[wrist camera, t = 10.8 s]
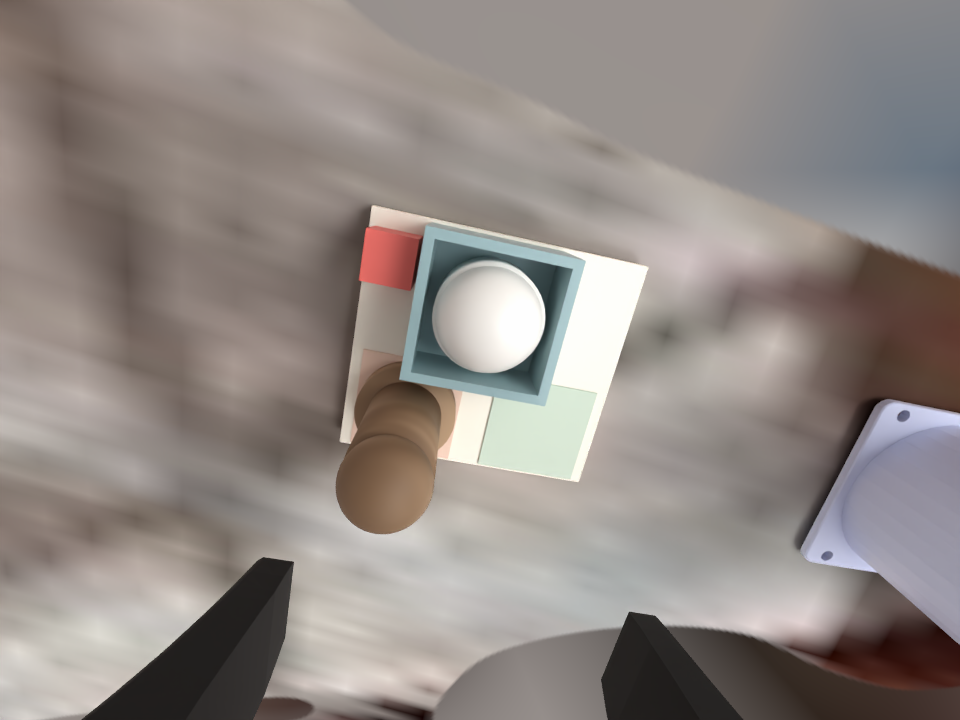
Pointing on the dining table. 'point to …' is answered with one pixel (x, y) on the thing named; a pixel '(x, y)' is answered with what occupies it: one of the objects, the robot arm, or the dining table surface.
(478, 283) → the dome
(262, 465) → the dining table surface
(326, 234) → the dining table surface
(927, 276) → the dining table surface
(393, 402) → the pawn
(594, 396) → the game board
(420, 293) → the dome housing
